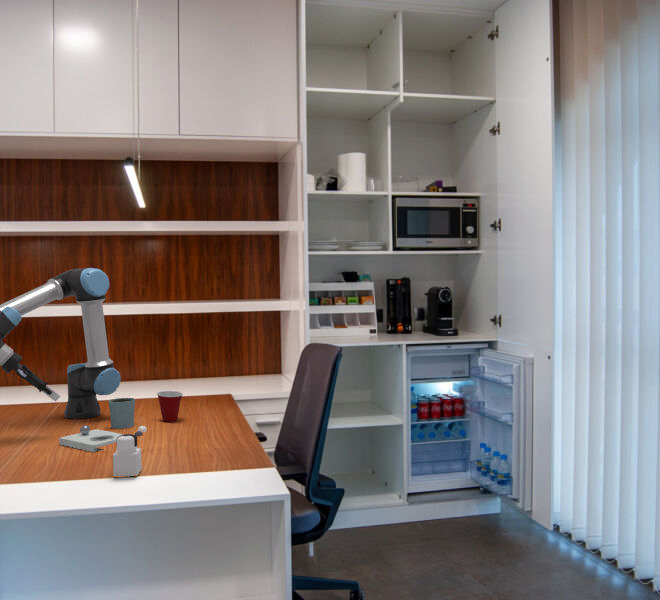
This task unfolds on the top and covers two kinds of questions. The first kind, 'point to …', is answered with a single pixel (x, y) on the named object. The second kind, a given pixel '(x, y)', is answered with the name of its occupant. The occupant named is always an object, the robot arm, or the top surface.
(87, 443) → the board
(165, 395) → the plastic cup
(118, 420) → the grey cup
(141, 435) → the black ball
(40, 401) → the top surface
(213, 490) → the top surface
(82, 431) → the steel ball
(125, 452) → the medicine bottle
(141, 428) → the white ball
